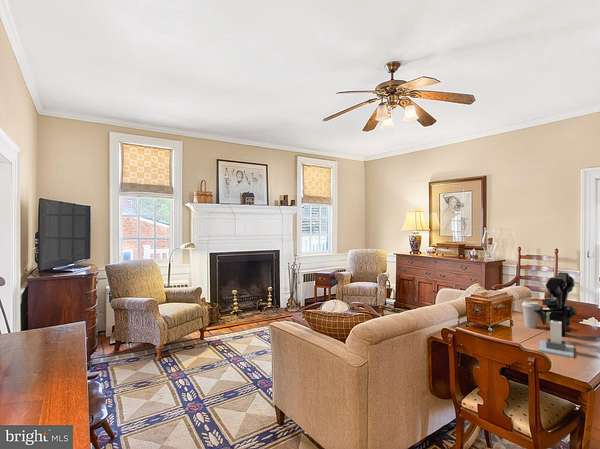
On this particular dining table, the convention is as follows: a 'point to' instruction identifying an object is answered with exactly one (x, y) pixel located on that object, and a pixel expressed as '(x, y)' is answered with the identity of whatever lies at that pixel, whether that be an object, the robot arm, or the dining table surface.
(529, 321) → the coffee cup
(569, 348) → the outlet
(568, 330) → the handheld radio
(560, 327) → the charger
